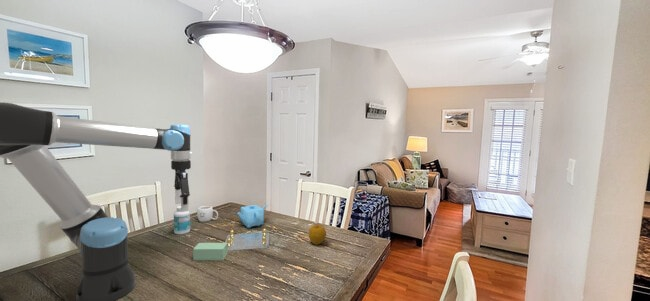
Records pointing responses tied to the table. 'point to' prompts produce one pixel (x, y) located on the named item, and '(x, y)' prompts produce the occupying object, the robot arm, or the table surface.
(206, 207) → the mug
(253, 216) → the teapot
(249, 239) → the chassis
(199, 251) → the pale green block
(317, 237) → the apple
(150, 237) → the table surface
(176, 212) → the pill bottle
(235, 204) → the table surface
